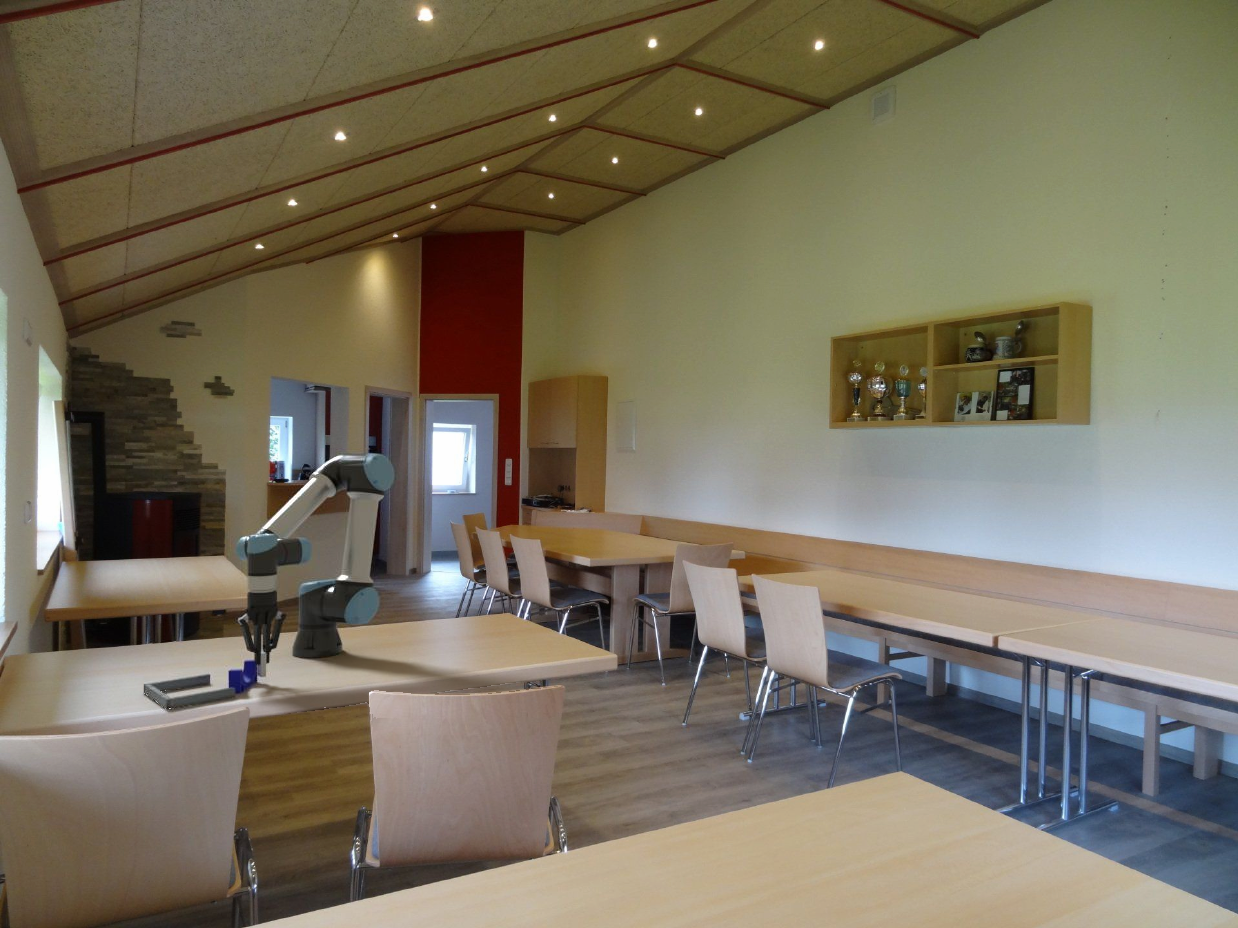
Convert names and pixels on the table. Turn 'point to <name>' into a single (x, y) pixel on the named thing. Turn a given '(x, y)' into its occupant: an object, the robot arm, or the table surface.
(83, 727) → the table surface
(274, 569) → the robot arm
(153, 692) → the bracket
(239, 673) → the cable clip
